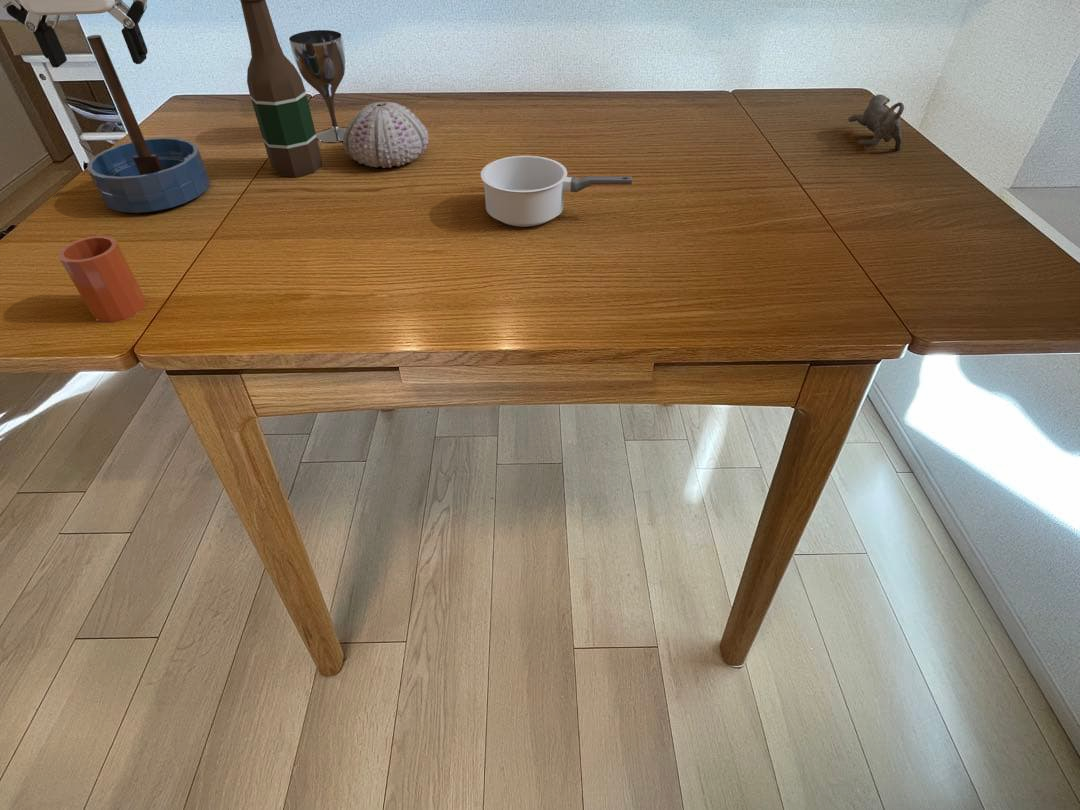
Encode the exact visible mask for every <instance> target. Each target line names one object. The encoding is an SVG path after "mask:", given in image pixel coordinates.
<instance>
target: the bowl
mask: <svg viewBox="0 0 1080 810" xmlns="http://www.w3.org/2000/svg"><path fill="white" fill-rule="evenodd" d="M144 140H145V142H146V145H147V147H148V149H149V152H150V154H156V155H157V157H158V159H159V162H160V164H161V167H162V169H163V170H162V171H159V172H155V173H150V174H145V175H140V173H139V171H138V169H137V166H136V164H135V162H134V160H133V157H134V156H136V155H137V153H136V150H135V148H134V146H133V144H132V141H128V142H125V143H120V144H118V145H114V146H113V147H109V148H107V149H105V150H103V151H101V152H99V153H97V154H96V155H95V156H93V157H92V158H91V159H90V160H89V161H88V162H87V172H88V174H89V177H90V178H91V180H92V182H93V184H94V186H95V188H96V191H97V192H98V194H99V196H100V198H101V200H102V202H103V204H104V205H105V206H106V207H108V208H109V209H111V210H113V211H117V212H121V213H131V214H139V213H140V214H141V213H153V212H159V211H163V210H165V211H166V210H170V209H173V208H175V207H178V206H181V205H183V204H186V203H189V202H191V201H193V200H194V199H197V198H198V197H200V196H202V194H204V193H205V192H206V191H207V190H208V189H209V187H210V185H211V179H210V177H209V174H208V171H207V169H206V166H205V164H204V160H203V158H202V155H201V153H200V149H199V147H198V144H196V143H194V142H193V141H191V140H188V139H185V138H179V137H151V138H150V137H149V138H144Z"/></svg>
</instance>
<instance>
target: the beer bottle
mask: <svg viewBox="0 0 1080 810" xmlns="http://www.w3.org/2000/svg"><path fill="white" fill-rule="evenodd" d="M239 1H240V5H241V9H242V15H243V18H244V22H245V23H244V24H245V27H246V31H247V36H248V41H249V46H250V54H251V57H250V60H249V64H248V66H247V72H246V73H247V75H246V76H247V77H246V84H247V87H248V92H249V93H248V94H249V97H250V100H251V103H252V107H253V110H254V113H255V116H256V121H257V124H258V126H259V130H260V134H261V137H262V140H263V144H264V148H265V150H266V154H267V157H268V159H269V162H270V166H271V168H272V169H273V171H275V172H276V174H277V175H278V177H287V178H300V177H303V176H304V177H305V176H307V175H312V174H314V173H315V172H317V171H318V170H319V169H320V168H321V167H322V166H323V160H322V155H321V154H322V153H321V149H320V145H319V140H317V136H316V134H317V133H316V129H315V125H314V120H313V116H312V112H311V108H310V104H309V99H308V95H307V92H306V87H305V84H304V82H303V77H302V75H301V74H300V72H298V71H299V70H297V68H296V66H295V65H294V64H293V63H292V62H291V61H290V60H289V58H288V57H287V56H286V55H285V54H284V52H283V49H282V46H281V45H280V42H279V39H278V35H277V32H276V29H275V26H274V23H273V19H272V16H271V13H270V10H269V6H268V4H267V1H266V0H239Z"/></svg>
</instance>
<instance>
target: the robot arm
mask: <svg viewBox="0 0 1080 810" xmlns="http://www.w3.org/2000/svg"><path fill="white" fill-rule="evenodd" d="M19 2H20V3H19ZM19 2H17V1H16V0H0V6H1V7H2V8H4V9H5V10H6V12H7V14H8V15H9V16H10V17H12V18H13V19H14V20H16V21H18V22H19V23H20V24H22V25H23V26H24V27H25V28H26V30H27V31H29V32H31V33H33V35H34V37H35V40H36V41H37V43H38V46H39V48H40V50H41V52H42V54H43V56H44V58H45V59H47V60H48V61H49V63H50V65H51V67H52V68H53V69H54V68H59V67H61V66H62V65H64V64H65V63H66V62H67V61H68V58H67V56H66V53H65V51H64V49H63V46H62V44H61V42H60V39H59V37H58V35H57V33H56V31H55V28H54V27H52V25H48V23H47V21H48V18H49V16H64V15H65V16H66V15H67V16H69V15H70V16H71V15H97V14H98V15H99V14H104V13H108V14H110V15H111V16H112V17H113V18H114V19H116V21H118V22H119V23H120V24H122V25H123V26H122V27H123V28H122V29H121V35H122V37H123V40H124V43H125V44H126V47H127V50H128V53H129V55H130V58H131V60H132V62H133V64H135V65H142V64H143V62H145V61H146V60H147V55H148V51H149V50H148V48H147V45H146V41H145V39H144V36H143V34H142V31H141V28H140V25H139V23H140V22H141V19H142V18H143V16H144V15H145V12H146V10H147V8H148V5H147V3H148V0H132V3H131V5H130V6H129V5H128V4H126V3H125V2H124V1H123V0H19Z"/></svg>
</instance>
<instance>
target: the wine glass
mask: <svg viewBox="0 0 1080 810" xmlns="http://www.w3.org/2000/svg"><path fill="white" fill-rule="evenodd" d="M288 41H289V45H290V49H291V52H292V56H293V59H294V62H295V64H296V67H297V69H298V71H299V74H300V76H301V78H302V79H303V80H304V81H305V82H306V83H307V84H309V85H310V86H311V87H312V88H313V89H314V90H315V91H317V93H318V94H319V95H320V96H321V97H322V99H323V100H324V101H325V104H326V107H327V109H328V110H327V111H328V112H329V113H328V114H329V116H330V120H331V127H328V129H327V128H324V129H321V130H320V131H318V132H319V133H318V132H317V133H316V136H317V139H318V140H317V141H318V142H321V141H323V143H327V142H336V143H340V142H339V141H343V140H344V139H343V137H344V134H345V131H346V127H347V126H339V125H338V123H337V122H338V121H337V117H336V112H335V111H336V110H335V103H334V102H335V101H334V100H335V94H336V92H337V89H338V88H339V86H340V84H341V82H342V81H343V79H344V76H345V72H346V55H345V47H344V42H343V41H344V39H343V36H342V33H340V32H339V31H335V30H328V29H316V30H315V29H314V30H308V31H302V32H301V31H300V32H298V33H295V34H293V35H291V36H290V37H289V38H288ZM337 141H338V142H337Z"/></svg>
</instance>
